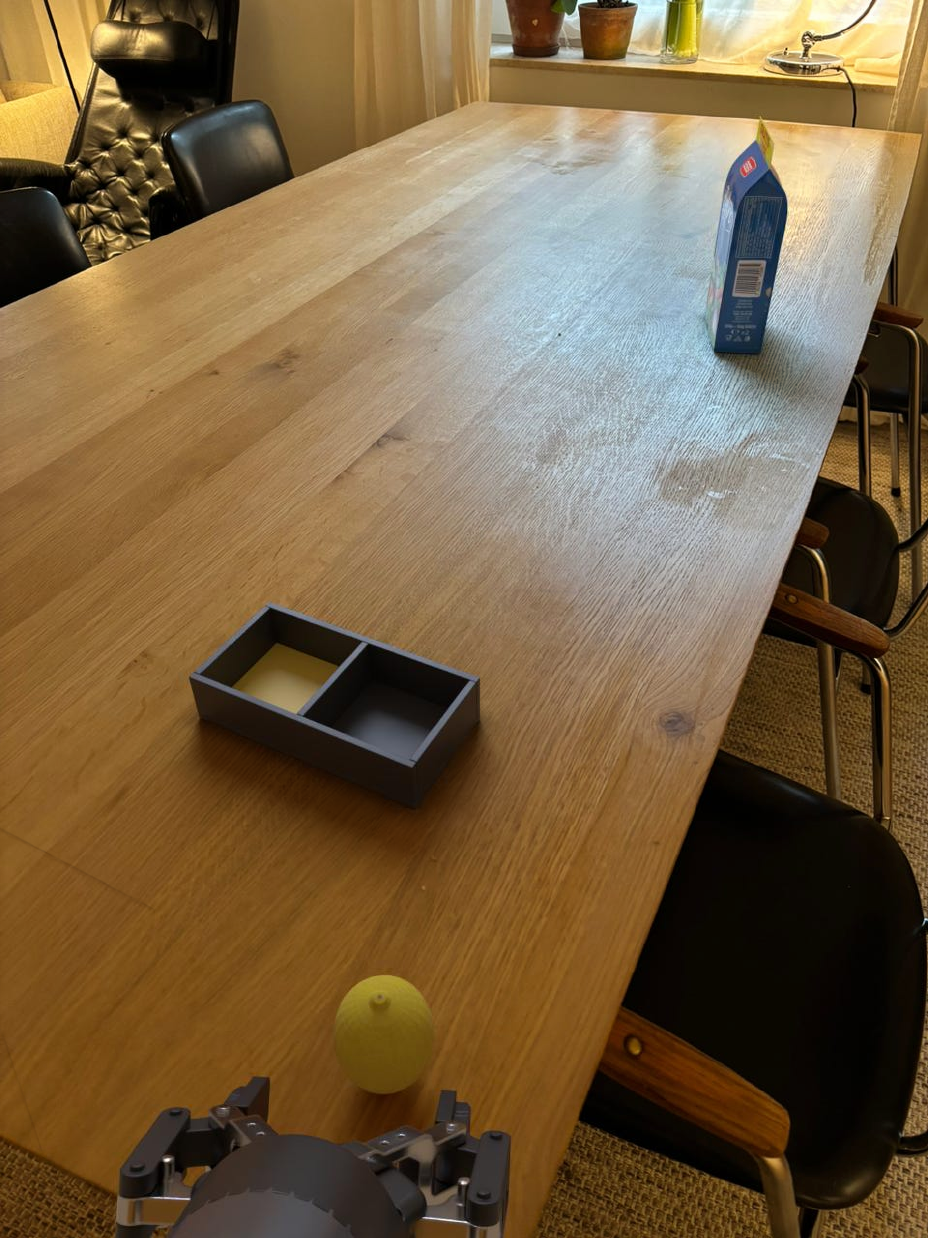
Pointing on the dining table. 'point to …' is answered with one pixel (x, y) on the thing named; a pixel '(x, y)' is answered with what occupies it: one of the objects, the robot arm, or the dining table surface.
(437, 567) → the dining table surface
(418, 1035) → the lemon
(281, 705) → the sorter
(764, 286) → the blue food package
